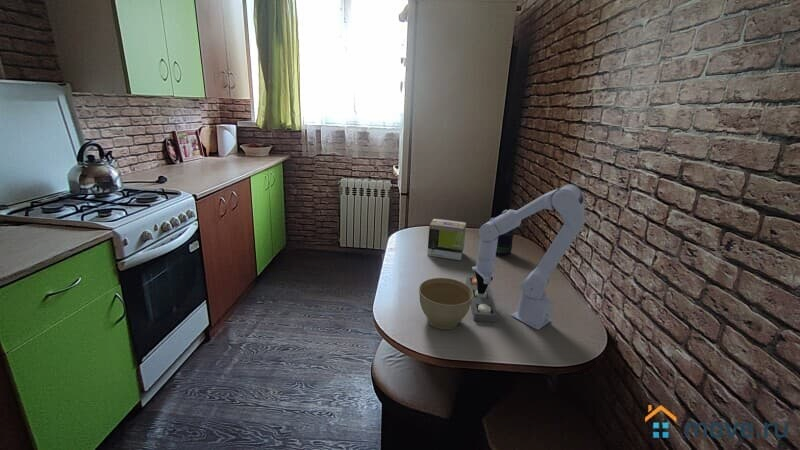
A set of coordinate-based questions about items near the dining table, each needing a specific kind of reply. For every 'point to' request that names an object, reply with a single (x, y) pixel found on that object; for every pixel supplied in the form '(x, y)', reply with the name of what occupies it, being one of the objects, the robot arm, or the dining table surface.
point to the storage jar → (505, 244)
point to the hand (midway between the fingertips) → (480, 292)
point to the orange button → (474, 281)
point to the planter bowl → (445, 301)
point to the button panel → (477, 301)
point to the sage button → (480, 295)
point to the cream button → (484, 308)
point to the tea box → (446, 239)
